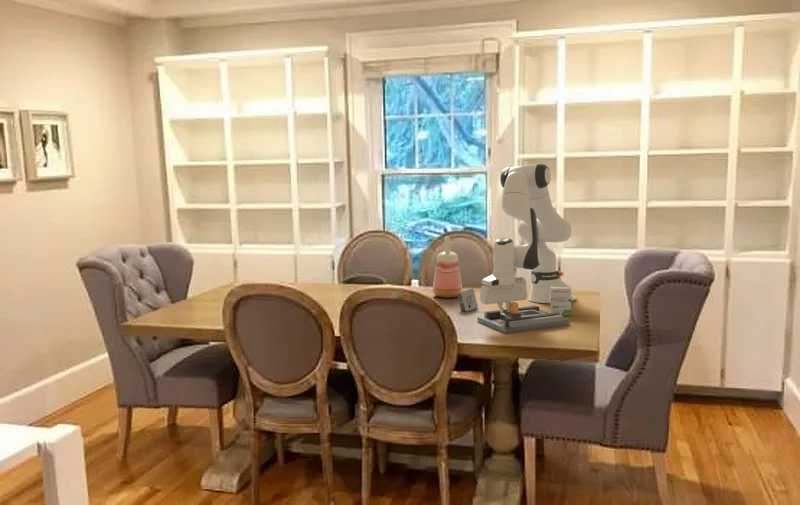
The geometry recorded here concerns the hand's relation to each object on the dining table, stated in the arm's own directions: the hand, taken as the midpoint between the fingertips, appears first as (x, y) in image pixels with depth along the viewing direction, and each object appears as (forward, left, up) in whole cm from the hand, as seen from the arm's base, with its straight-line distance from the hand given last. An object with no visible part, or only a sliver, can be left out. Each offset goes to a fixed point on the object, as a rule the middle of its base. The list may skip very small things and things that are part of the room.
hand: (504, 312), depth 269 cm
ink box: (-32, -6, -6) cm, 33 cm away
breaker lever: (-4, 0, -3) cm, 5 cm away
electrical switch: (-1, -33, -6) cm, 33 cm away
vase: (-6, -63, -6) cm, 63 cm away
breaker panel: (-9, 0, -5) cm, 10 cm away
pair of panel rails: (-9, 0, -3) cm, 10 cm away
